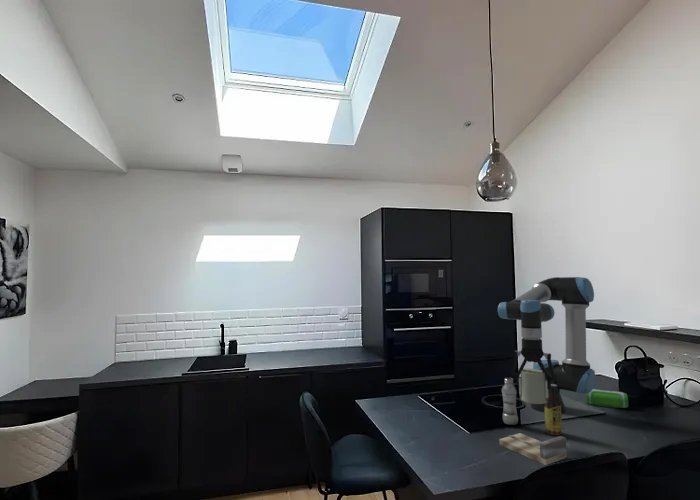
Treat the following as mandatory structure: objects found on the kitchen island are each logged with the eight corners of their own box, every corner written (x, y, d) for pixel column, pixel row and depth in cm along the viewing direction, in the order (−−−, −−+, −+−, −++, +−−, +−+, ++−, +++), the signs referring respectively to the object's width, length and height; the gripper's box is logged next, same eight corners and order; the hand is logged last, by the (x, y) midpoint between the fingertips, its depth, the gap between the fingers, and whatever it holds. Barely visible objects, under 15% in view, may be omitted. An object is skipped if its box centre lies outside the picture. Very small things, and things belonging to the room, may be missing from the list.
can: (516, 399, 161) (515, 369, 162) (529, 395, 166) (528, 366, 167) (538, 405, 153) (537, 373, 154) (551, 401, 159) (550, 370, 160)
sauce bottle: (555, 437, 163) (553, 387, 164) (541, 432, 169) (539, 384, 170) (565, 434, 166) (563, 385, 167) (552, 429, 172) (549, 382, 173)
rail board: (499, 444, 157) (498, 426, 158) (519, 437, 163) (519, 420, 164) (545, 465, 140) (544, 444, 140) (566, 457, 146) (565, 437, 146)
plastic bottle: (517, 422, 180) (516, 377, 181) (518, 427, 174) (517, 381, 175) (502, 420, 182) (500, 376, 183) (503, 426, 176) (501, 379, 177)
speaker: (626, 406, 199) (626, 390, 200) (628, 410, 193) (628, 394, 193) (586, 401, 207) (585, 386, 208) (586, 405, 201) (585, 390, 202)
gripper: (501, 337, 163) (503, 394, 162) (561, 341, 153) (563, 402, 151) (504, 335, 170) (506, 389, 168) (562, 339, 159) (564, 396, 158)
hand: (533, 395), depth 160 cm, fingers closed on can, 9 cm apart
